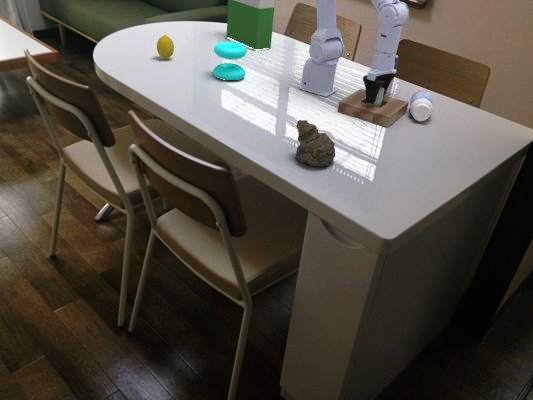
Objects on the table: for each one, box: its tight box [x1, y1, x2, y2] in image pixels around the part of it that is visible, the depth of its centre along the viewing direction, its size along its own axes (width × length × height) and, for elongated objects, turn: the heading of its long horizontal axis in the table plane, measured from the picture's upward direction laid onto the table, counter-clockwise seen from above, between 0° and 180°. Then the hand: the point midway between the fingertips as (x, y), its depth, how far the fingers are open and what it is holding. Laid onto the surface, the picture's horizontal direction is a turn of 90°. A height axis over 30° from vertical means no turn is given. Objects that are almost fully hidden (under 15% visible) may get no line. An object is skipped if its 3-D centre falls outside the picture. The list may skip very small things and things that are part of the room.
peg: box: [367, 87, 384, 107], centre depth 138 cm, size 4×4×7 cm
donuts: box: [212, 41, 248, 81], centre depth 152 cm, size 10×10×10 cm
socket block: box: [337, 88, 410, 128], centre depth 139 cm, size 15×15×3 cm
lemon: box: [156, 34, 175, 60], centre depth 162 cm, size 6×6×8 cm
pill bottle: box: [409, 89, 433, 122], centre depth 139 cm, size 6×6×11 cm
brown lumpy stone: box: [295, 119, 336, 167], centre depth 110 cm, size 11×12×10 cm
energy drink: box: [385, 54, 399, 96], centre depth 151 cm, size 5×5×12 cm
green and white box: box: [226, 0, 276, 49], centre depth 182 cm, size 18×7×24 cm, turn 42°
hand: (375, 99), depth 138 cm, fingers open, 7 cm apart
